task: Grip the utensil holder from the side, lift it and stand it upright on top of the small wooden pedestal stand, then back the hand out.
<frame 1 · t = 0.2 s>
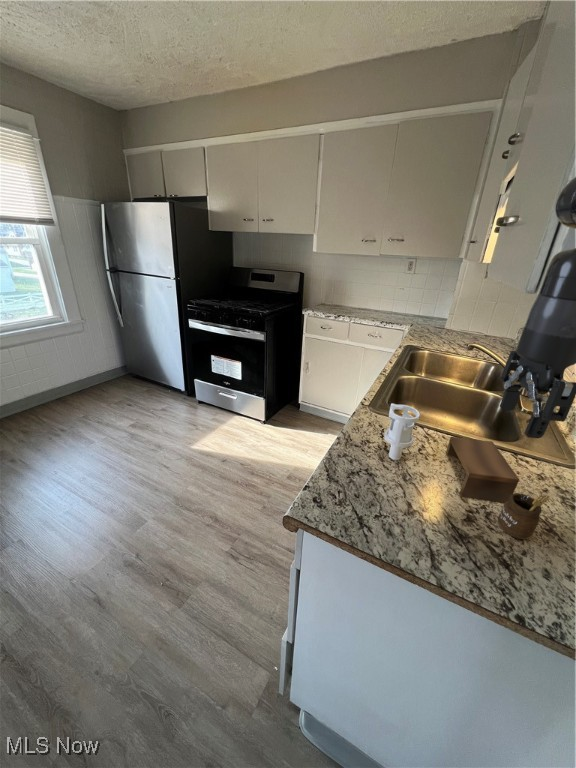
hand: (518, 421, 53), 25 cm above the counter, tool pointing down, fingers open, 8 cm apart
strainer: (394, 456, 84), on the counter
wooden pedestal stand: (473, 478, 76), on the counter
utensil holder: (513, 529, 64), on the counter
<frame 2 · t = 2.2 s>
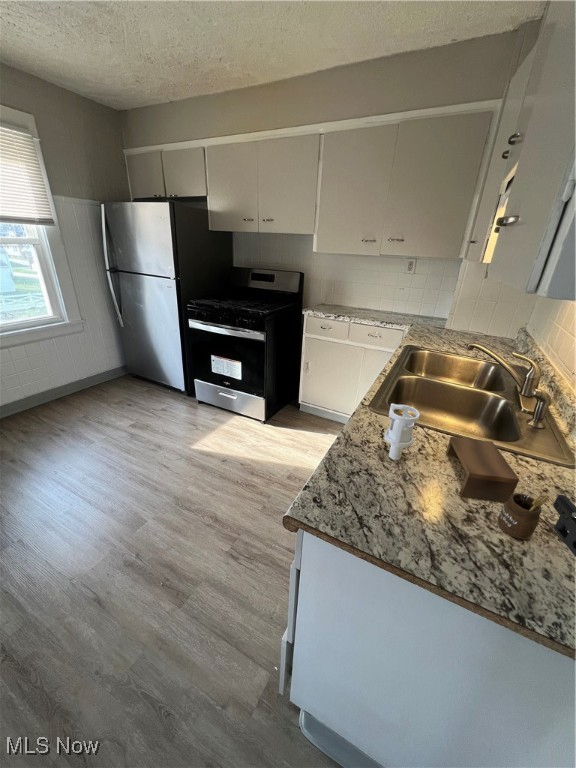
nothing on the counter moved.
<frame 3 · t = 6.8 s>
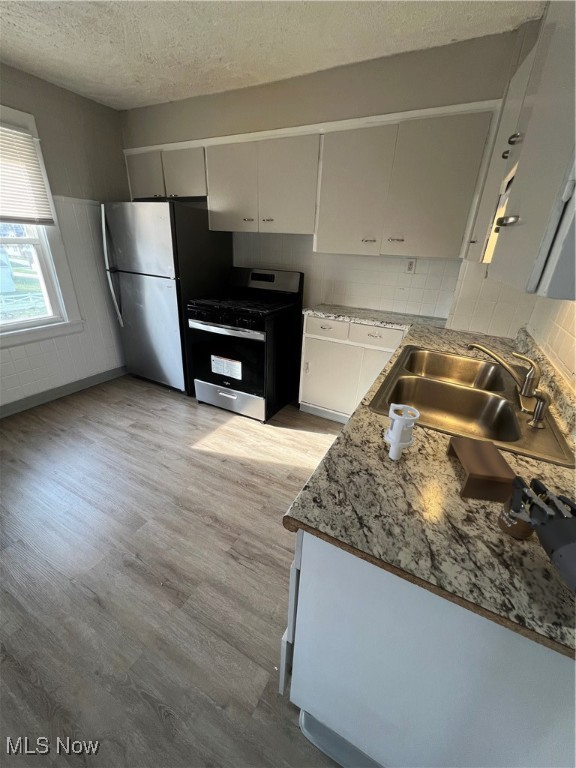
hand: (524, 480, 62), 10 cm above the counter, tool horizontal, fingers closed on utensil holder, 2 cm apart
utensil holder: (513, 529, 64), on the counter, touching gripper
everything else where it was.
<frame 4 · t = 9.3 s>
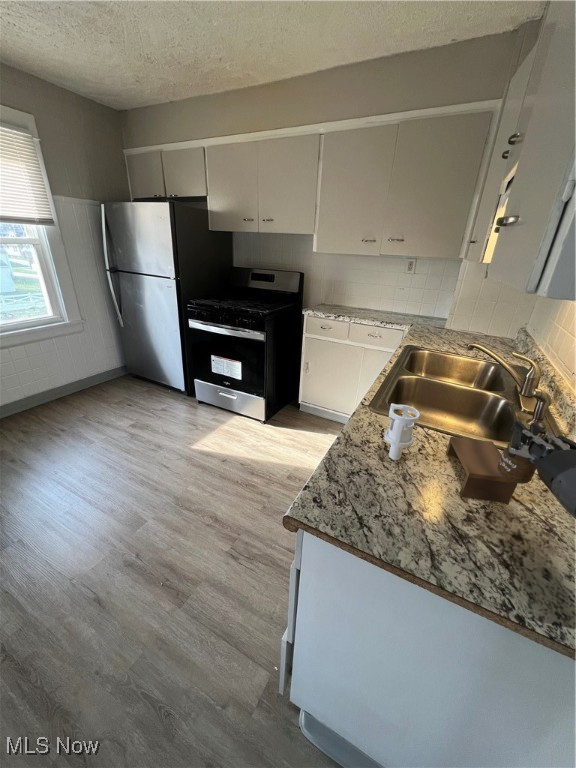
hand: (523, 425, 62), 20 cm above the counter, tool horizontal, fingers closed on utensil holder, 2 cm apart
utensil holder: (513, 475, 64), point 9 cm above the counter, touching gripper
everything else where it was.
when the fingers open (17 cm above the counter, at t = 11.9 s): utensil holder stays where it is, resting on wooden pedestal stand.
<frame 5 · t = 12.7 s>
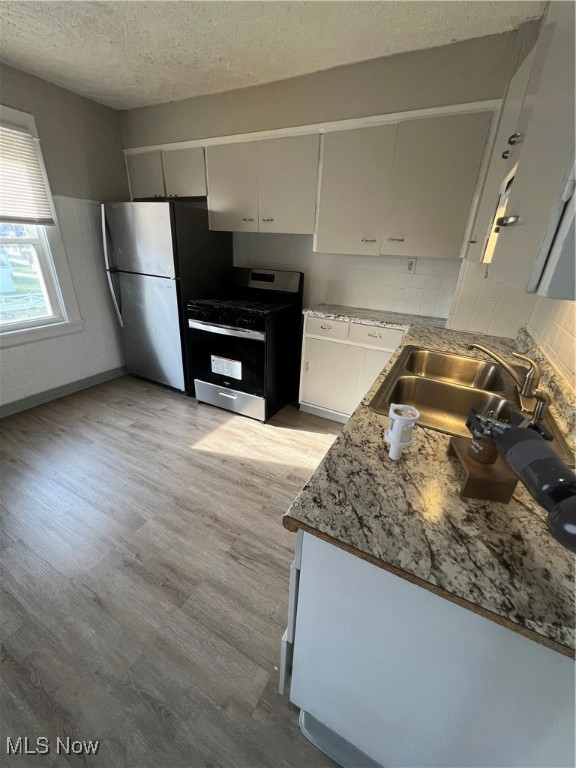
hand: (492, 412, 71), 18 cm above the counter, tool horizontal, fingers open, 8 cm apart
utensil holder: (481, 457, 73), point 7 cm above the counter, touching wooden pedestal stand
everything else where it was.
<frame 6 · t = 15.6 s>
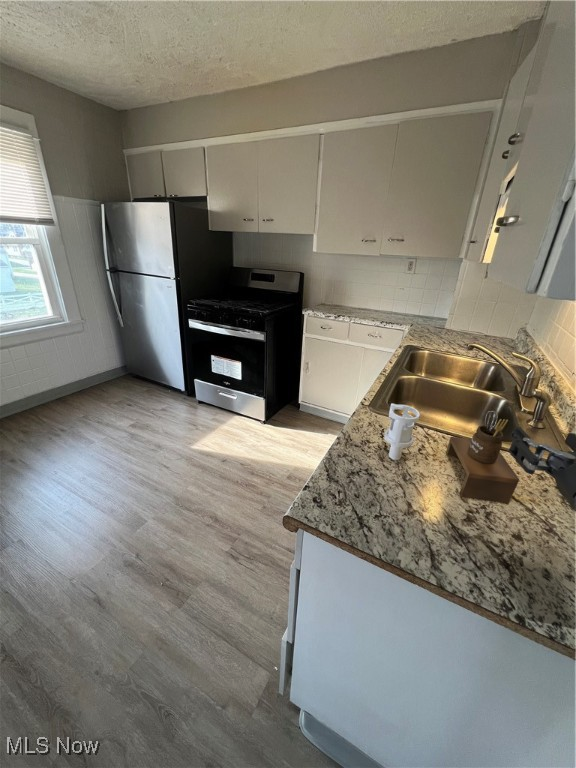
hand: (541, 434, 55), 22 cm above the counter, tool horizontal, fingers open, 8 cm apart
nothing on the counter moved.
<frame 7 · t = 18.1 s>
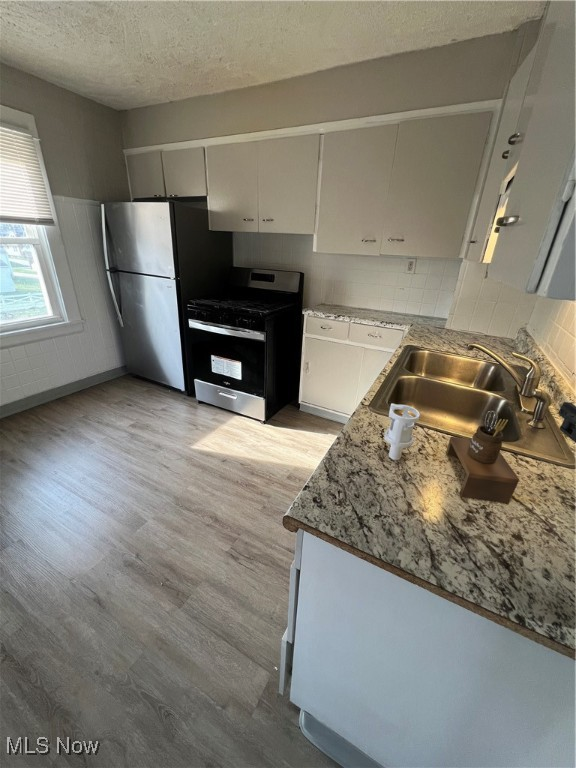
nothing on the counter moved.
at the end: utensil holder inside the target area (0.3 cm from its centre), point 6.8 cm above the counter; utensil holder tilted 0°; the gripper is holding nothing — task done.
